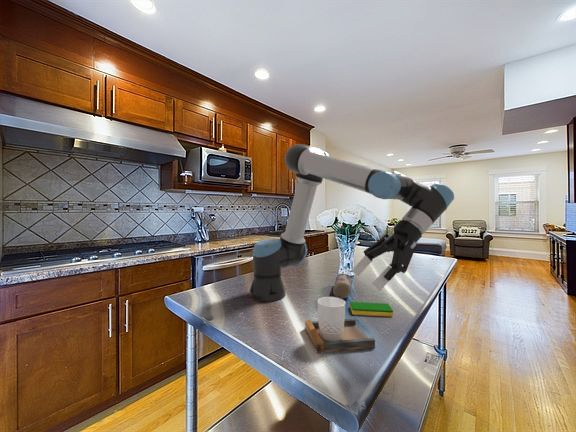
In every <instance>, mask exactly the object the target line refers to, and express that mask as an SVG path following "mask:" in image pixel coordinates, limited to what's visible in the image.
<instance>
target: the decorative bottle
mask: <svg viewBox="0 0 576 432" xmlns="http://www.w3.org/2000/svg"><path fill="white" fill-rule="evenodd" d="M352 284H353V281H352V278H351V276H350V275H349V274H347V273H339V274H338V275H336V278H335V282H334V285H333V287H332V294H333V295H334V297H336V298H340V299H346V298H347V297H349V296H350V294H351V292H352V289H351V286H352Z"/></svg>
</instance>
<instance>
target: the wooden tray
mask: <svg viewBox="0 0 576 432" xmlns="http://www.w3.org/2000/svg"><path fill="white" fill-rule="evenodd" d="M356 321H357V320H356V318H354V317H353V318H345V319H344V329H343V338H342V339H341V340H339V341H327V340H324V339H322V338H321V337H320V335H319V323H318V322H319V321H318V320H317V321H316V320H315V321H312V320H311V319H310V320H309V319H306V320H305V322H304V327H305V328H304V329H305V331H306V333H307V335H308V338H309V340H310V342H311V344H312V345H313V348H314V349H316V350H315V351H317V352H316V353H317V354H323V352H324V353H330V352H329V351H334V352H342V351H341V350H345V351H352V350H363V349H373V348H376V338H375V339H374V337H368V336H367V335H366V334H365V333H364V332H363V331H362V330H361V329H360V328H359V326H357V325H356ZM321 352H322V353H321Z"/></svg>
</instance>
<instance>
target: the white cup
mask: <svg viewBox="0 0 576 432" xmlns="http://www.w3.org/2000/svg"><path fill="white" fill-rule="evenodd" d="M317 317H318V318H317V321H319V322H318V323H319V335H320V337H321V338H322V339H324V340H327V341H339V340H341V339H342V338H343V329H344V319H346V301H345V300H344V298H338V297H336V296H324V297H320V298H318V299H317Z"/></svg>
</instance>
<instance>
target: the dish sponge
mask: <svg viewBox="0 0 576 432" xmlns="http://www.w3.org/2000/svg"><path fill="white" fill-rule="evenodd" d="M349 308H350V311H351V315H355V316H357V315H358V316H376V317H377V316H378V317H394V310H393V309H392V307H391V306H390V304H389V303H383V302H363V301H350V302H349Z"/></svg>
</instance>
